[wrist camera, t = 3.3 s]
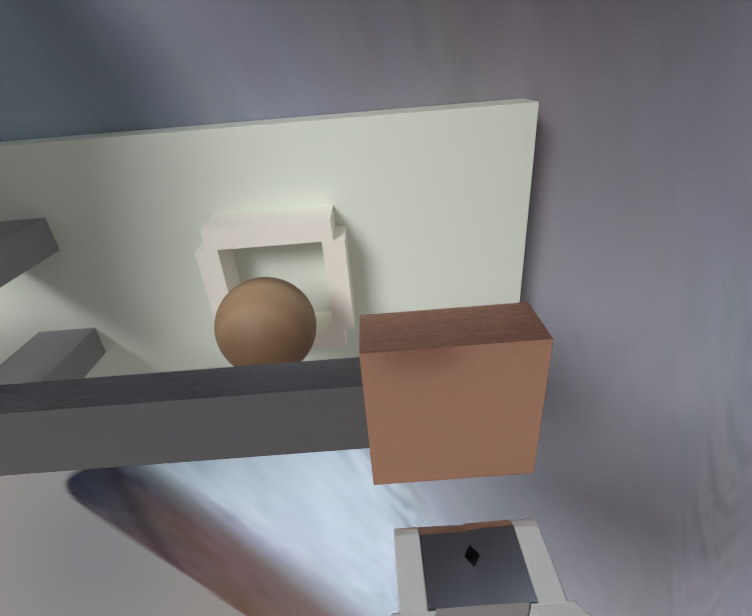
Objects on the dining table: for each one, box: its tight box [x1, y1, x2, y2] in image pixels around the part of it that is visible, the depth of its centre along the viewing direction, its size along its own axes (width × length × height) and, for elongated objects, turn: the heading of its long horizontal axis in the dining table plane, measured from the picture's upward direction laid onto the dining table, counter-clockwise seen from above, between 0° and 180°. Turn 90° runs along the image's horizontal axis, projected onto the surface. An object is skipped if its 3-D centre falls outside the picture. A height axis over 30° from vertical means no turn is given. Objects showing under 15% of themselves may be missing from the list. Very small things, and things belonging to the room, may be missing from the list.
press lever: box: [0, 302, 553, 485], centre depth 14 cm, size 7×32×6 cm, turn 94°
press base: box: [0, 98, 539, 385], centre depth 19 cm, size 14×30×12 cm, turn 94°
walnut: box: [214, 277, 317, 367], centre depth 18 cm, size 4×4×4 cm
